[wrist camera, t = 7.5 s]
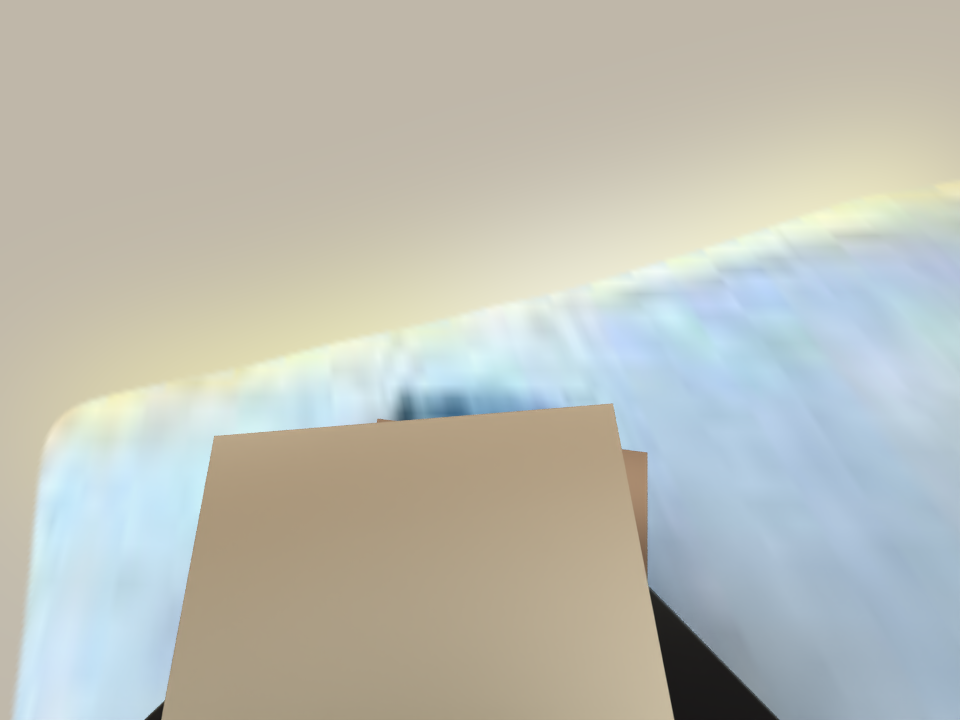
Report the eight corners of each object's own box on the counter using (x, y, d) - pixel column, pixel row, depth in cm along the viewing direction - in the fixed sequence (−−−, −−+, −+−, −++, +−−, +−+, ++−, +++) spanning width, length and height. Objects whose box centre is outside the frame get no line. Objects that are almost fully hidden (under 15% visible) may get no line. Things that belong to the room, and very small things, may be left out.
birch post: (564, 667, 12) (733, 1026, 3) (419, 675, 12) (100, 1044, 3) (546, 513, 14) (612, 404, 4) (418, 522, 14) (213, 436, 5)
